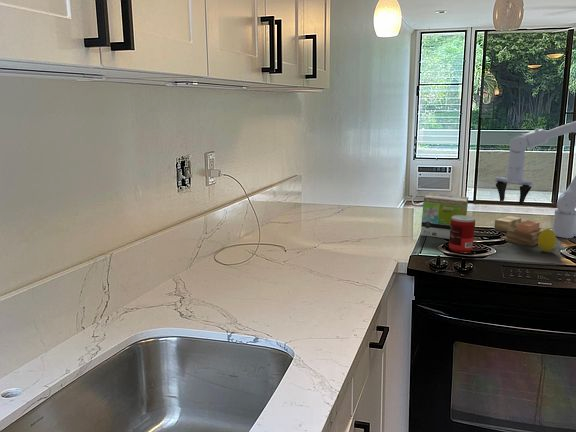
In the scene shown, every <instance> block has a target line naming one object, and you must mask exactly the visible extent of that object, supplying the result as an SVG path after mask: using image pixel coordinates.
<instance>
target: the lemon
mask: <svg viewBox="0 0 576 432" xmlns="http://www.w3.org/2000/svg"><path fill="white" fill-rule="evenodd" d="M545 229H546V230H543V231H542V232H541V233H540V234H539V236H538V244H537V245H538V247H539V248H540V249H541V250H543V251H544V252H545V253H547V252H548V251H551V250H553V249H554V248H555V246H556V243H557V236H556V235H555V233H554V232H553V231H552V229H550V228H545Z"/></svg>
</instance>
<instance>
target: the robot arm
mask: <svg viewBox="0 0 576 432" xmlns="http://www.w3.org/2000/svg"><path fill="white" fill-rule="evenodd" d="M571 133H576V120H575V121H574V120H573V121H571V122H569V123H566V124H563V125H560V126H557V127H554V128H552V129H548V130H547V129H544V128H539V127H537V128H535V129H534V130H532V131H530V132H527V133H525V132H523V133H521V134H520V135H517V136H515V137H512V138H511V139H510V141H509V144H508V145H509V152H508V153H509V155H508V157H507V158H508V161H507V170H506V177H505V176H495V177H494V182H495V187H496V189H497V192H498V197H499V201H500V202H504V201H505V197H506V190H507V186H508V184H510V185H517V186H519V201H518V202H519V203H518V204H519V205H523V204H524V203H525V200H526V197H527V195H528V194H529V192H530V190H531V189H532V187H534V184H535V181H534V180H528V179H523V176H524V175H523V174H524V169H525V167H524V166H525V158H526V155H525V154H526V153H525V152H526V149H532V148H535V147H538V146H542V145H545V144H547V143H548V141H549V140H550V139H552V138H553V139H554V138H557V137H559V136H563V135H566V134H571ZM551 231H553V232H554V233H555V235H556V237H559V238H563V239H564V238H565V239H568V238H570V239H573V238H575V237H576V174H575V175H574V177H573V179H572V180H571V182H570V184H569V185H568V187H567V189H566V190H565V192H563V193H562V194H560V195H559V196H558V199H557V202H556V209H554V214H553V224H552V229H551ZM574 236H575V237H574Z"/></svg>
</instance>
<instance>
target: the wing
mask: <svg viewBox="0 0 576 432" xmlns="http://www.w3.org/2000/svg"><path fill="white" fill-rule="evenodd" d="M521 222H522V217H518V216H514V215H507V216H504V217H500V218H497V219H495V220H494V228H493V229H494V230H497V231H501V232H506V233H507V230H510V229H513V228H516V226H517V223H521Z"/></svg>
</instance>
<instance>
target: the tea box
mask: <svg viewBox="0 0 576 432" xmlns="http://www.w3.org/2000/svg"><path fill="white" fill-rule="evenodd" d="M468 204H469V196H463V195H462V196H460V195H452V194H442V193H441V194H439V193H430V192H428V193H427V194H426V195H425V196H424V197H423V203H422V212H421V213H422V214H421V223H420V236H421V237H425V236H426V237H433V238H439V239H447V240H449V239H450V227H451V218H452V216H455V215H464V216H468V215H467V213H468Z"/></svg>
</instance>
